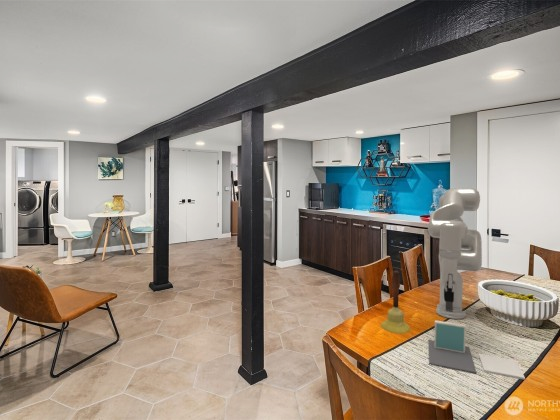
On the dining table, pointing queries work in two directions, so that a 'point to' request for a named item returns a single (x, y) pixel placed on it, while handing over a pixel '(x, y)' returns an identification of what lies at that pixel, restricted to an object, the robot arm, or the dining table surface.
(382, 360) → the dining table surface
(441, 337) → the tile
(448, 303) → the post on square base
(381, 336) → the dining table surface
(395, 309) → the handbell
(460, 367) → the tile mat
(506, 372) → the pad
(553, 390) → the dining table surface
